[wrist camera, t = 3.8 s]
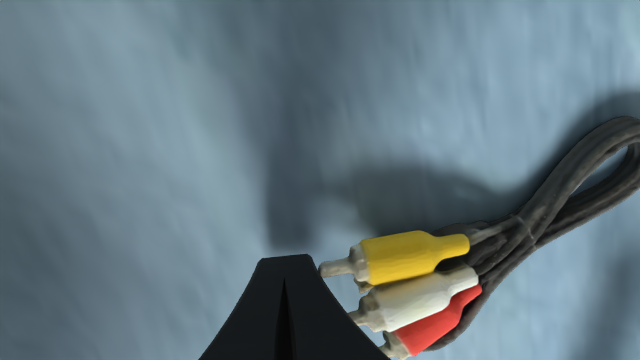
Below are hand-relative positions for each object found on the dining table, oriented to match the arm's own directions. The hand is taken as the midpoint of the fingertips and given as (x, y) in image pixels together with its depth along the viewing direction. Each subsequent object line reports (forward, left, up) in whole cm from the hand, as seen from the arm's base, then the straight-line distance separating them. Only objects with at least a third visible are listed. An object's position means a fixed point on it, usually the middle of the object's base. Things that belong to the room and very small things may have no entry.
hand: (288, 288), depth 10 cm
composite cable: (+6, 0, -2) cm, 6 cm away
